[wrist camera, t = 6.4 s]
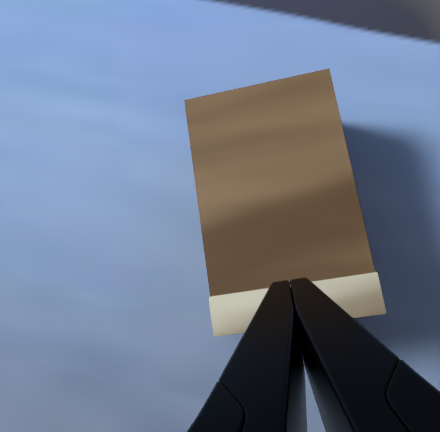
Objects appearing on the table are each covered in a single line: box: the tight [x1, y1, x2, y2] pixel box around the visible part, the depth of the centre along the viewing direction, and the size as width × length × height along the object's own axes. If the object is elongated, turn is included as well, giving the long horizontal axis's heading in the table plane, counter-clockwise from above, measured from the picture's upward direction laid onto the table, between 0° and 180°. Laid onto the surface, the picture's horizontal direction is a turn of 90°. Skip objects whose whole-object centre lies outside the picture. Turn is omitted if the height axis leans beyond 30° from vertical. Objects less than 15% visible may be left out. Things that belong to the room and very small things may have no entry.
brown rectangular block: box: [184, 69, 387, 337], centre depth 15 cm, size 4×5×8 cm
